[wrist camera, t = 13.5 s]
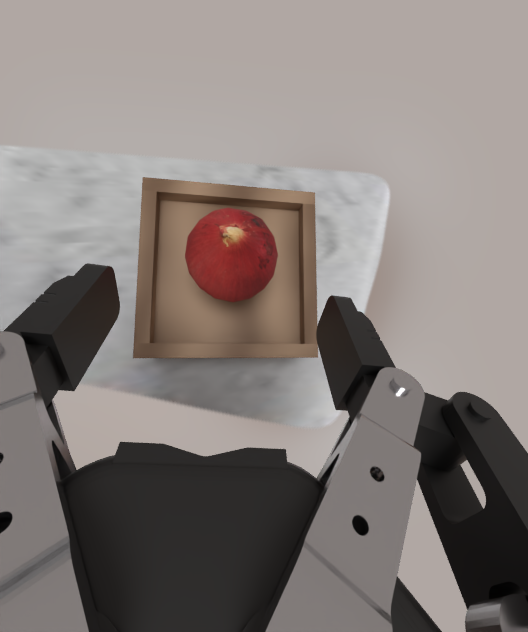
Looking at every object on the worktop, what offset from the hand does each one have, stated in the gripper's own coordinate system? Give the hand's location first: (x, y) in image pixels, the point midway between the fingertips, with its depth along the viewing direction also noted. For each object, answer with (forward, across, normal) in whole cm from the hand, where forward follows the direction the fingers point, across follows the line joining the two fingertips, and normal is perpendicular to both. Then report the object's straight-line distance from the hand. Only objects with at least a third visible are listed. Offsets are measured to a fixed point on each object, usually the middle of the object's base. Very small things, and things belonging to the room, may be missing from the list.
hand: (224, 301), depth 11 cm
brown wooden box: (+14, 0, +8) cm, 16 cm away
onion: (+10, 0, +5) cm, 12 cm away
